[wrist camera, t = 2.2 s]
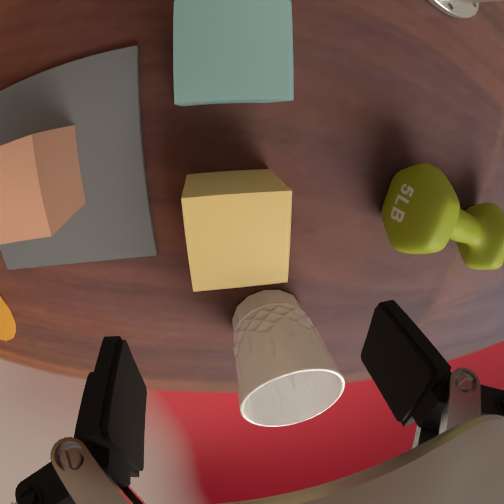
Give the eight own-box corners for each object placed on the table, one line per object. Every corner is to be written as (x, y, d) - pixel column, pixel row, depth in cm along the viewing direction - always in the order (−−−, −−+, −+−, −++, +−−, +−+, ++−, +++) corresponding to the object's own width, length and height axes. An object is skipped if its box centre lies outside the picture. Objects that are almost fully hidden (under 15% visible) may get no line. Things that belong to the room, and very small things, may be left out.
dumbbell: (364, 229, 25) (410, 270, 18) (393, 147, 21) (451, 167, 15) (458, 255, 29) (495, 286, 23) (482, 198, 26) (524, 222, 19)
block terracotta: (14, 143, 15) (-32, 160, 10) (74, 125, 16) (31, 134, 11) (27, 213, 18) (-12, 246, 13) (85, 202, 19) (51, 236, 13)
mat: (-22, 104, 12) (-26, 105, 12) (139, 47, 15) (137, 45, 14) (10, 266, 20) (7, 269, 19) (157, 252, 22) (156, 255, 22)
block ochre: (186, 174, 20) (181, 198, 15) (268, 168, 21) (292, 190, 15) (194, 247, 23) (193, 291, 18) (268, 241, 24) (287, 282, 18)
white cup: (224, 346, 28) (237, 431, 20) (227, 283, 25) (244, 375, 16) (297, 342, 30) (327, 418, 21) (313, 281, 26) (359, 361, 17)
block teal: (181, 29, 15) (174, 0, 9) (267, 27, 15) (291, 1, 10) (182, 106, 18) (174, 104, 12) (268, 102, 18) (293, 100, 13)
